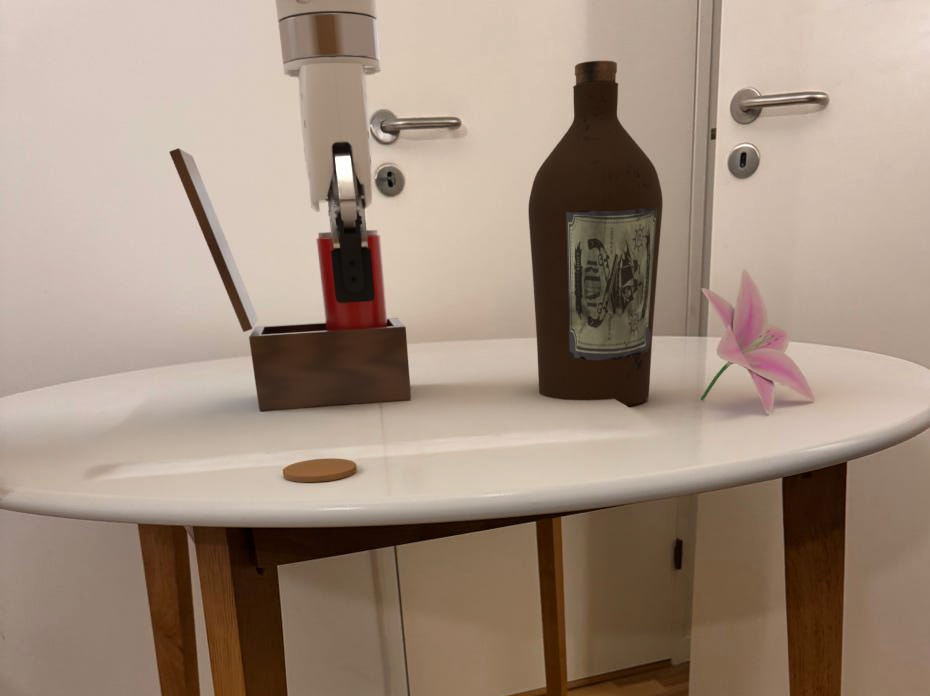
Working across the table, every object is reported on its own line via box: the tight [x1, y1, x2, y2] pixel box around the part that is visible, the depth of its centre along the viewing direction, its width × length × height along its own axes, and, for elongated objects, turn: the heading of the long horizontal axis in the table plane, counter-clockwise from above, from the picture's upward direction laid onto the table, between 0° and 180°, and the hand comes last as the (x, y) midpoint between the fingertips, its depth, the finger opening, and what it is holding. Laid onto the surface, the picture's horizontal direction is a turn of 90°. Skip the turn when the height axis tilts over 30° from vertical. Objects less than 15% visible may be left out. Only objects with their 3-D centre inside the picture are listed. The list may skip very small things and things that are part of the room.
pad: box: [282, 457, 358, 483], centre depth 61 cm, size 5×5×1 cm
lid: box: [169, 148, 259, 333], centre depth 76 cm, size 14×8×1 cm
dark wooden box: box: [248, 317, 412, 413], centre depth 82 cm, size 13×8×7 cm, turn 99°
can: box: [316, 229, 388, 331], centre depth 80 cm, size 5×5×13 cm
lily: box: [700, 269, 816, 416], centre depth 75 cm, size 12×12×10 cm
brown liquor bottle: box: [527, 60, 664, 407], centre depth 75 cm, size 11×11×25 cm
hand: (354, 296), depth 80 cm, fingers closed on can, 5 cm apart
